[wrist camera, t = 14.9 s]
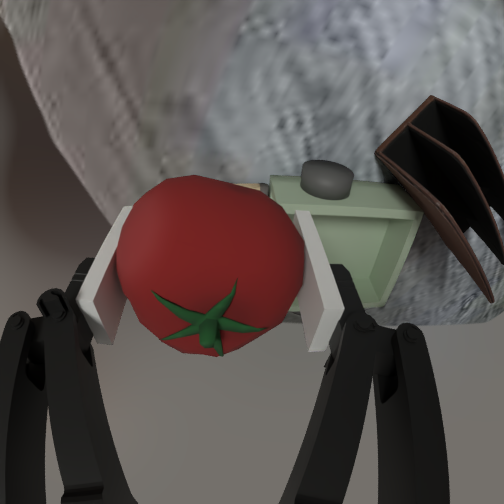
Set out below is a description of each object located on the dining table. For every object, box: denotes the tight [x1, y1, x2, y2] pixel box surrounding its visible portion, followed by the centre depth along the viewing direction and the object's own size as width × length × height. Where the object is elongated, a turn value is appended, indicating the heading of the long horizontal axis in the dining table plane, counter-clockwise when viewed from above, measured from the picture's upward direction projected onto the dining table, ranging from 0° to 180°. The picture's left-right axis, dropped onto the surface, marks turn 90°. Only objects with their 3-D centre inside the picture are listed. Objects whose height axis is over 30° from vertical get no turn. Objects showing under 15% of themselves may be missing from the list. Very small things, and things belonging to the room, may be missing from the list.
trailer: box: [269, 160, 424, 315], centre depth 32 cm, size 18×15×6 cm
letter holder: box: [375, 95, 504, 303], centre depth 25 cm, size 10×20×14 cm, turn 51°
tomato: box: [116, 175, 304, 357], centre depth 13 cm, size 8×8×7 cm
